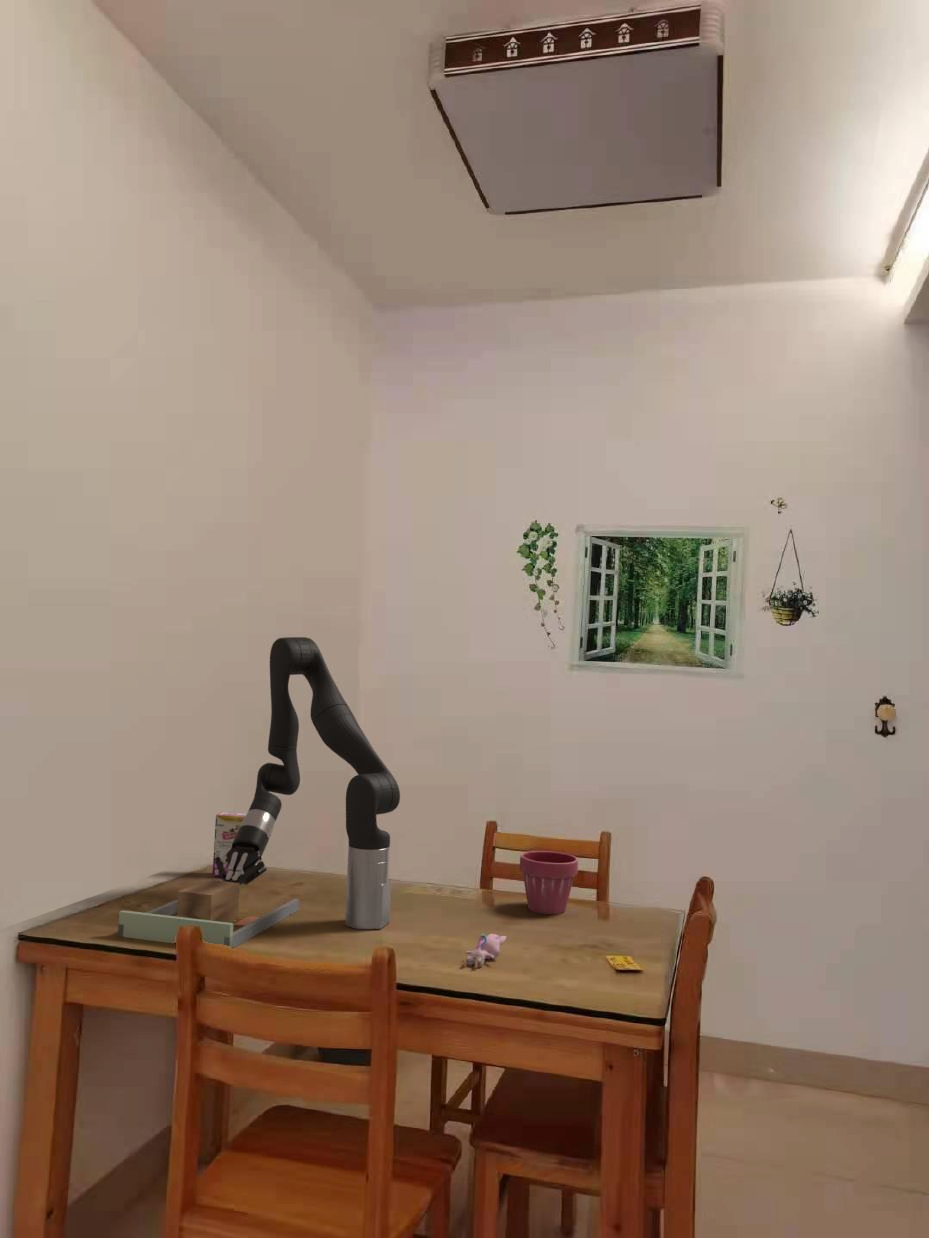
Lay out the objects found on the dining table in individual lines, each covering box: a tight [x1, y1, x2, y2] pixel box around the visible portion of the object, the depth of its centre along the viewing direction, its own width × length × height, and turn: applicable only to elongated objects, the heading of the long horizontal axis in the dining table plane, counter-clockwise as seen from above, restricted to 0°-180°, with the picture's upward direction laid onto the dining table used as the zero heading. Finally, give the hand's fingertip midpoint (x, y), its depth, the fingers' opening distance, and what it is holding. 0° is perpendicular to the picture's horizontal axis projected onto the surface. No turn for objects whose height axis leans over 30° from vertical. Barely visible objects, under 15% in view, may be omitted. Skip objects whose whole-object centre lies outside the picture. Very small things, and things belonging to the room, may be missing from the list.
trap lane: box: [117, 898, 300, 949], centre depth 205 cm, size 25×33×5 cm
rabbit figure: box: [462, 933, 507, 970], centre depth 187 cm, size 6×6×15 cm
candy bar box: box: [212, 811, 248, 878], centre depth 250 cm, size 11×5×16 cm, turn 84°
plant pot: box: [519, 850, 579, 915], centre depth 228 cm, size 14×14×13 cm
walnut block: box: [176, 879, 241, 923], centre depth 204 cm, size 8×12×8 cm, turn 165°
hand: (225, 897), depth 210 cm, fingers closed
